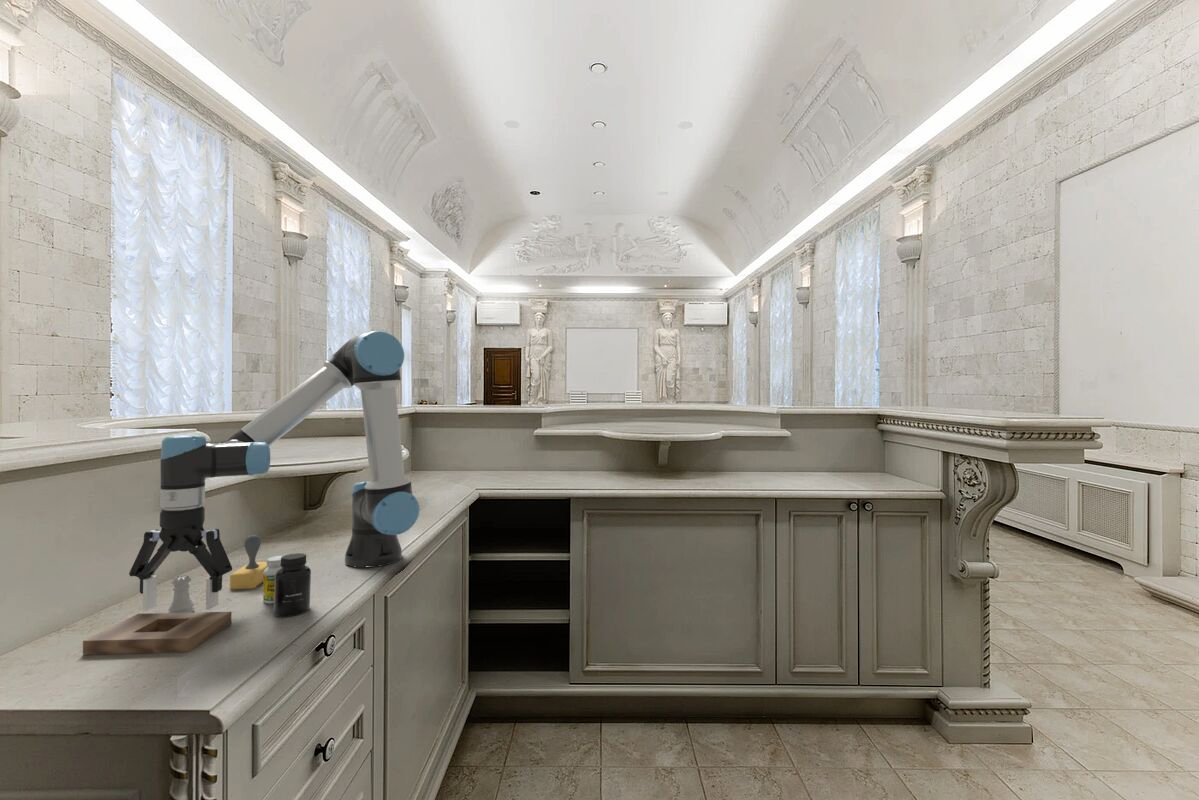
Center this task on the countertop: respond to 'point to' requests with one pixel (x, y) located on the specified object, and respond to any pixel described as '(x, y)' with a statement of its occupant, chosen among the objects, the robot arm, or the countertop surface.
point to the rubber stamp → (249, 567)
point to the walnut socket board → (158, 633)
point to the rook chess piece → (181, 596)
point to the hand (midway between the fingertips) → (181, 607)
